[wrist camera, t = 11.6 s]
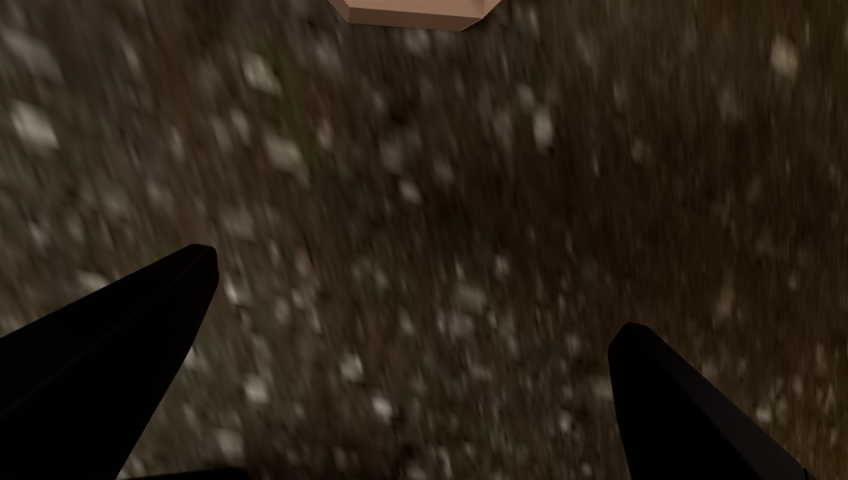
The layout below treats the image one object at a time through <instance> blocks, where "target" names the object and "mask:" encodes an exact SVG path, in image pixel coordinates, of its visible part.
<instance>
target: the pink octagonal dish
mask: <svg viewBox="0 0 848 480" xmlns="http://www.w3.org/2000/svg"><path fill="white" fill-rule="evenodd" d="M328 1H329V2H330V3H331V4H332V5H333V6H334V8H335V9H336V10H337V11H338V12H339V13H340V14H341V16H342V17H343V18H344V19H345V20H346V21H347V23H356V24H369V25H382V26H395V27H408V28H421V29H434V30H447V31H459V32H460V31H462V30H464V29H466V28H467V27H469V26H471V25H473V24H474V23H476V22H478V21H480V20H481V19H483V18H484V17H485V16H486V15H487V14H488V13H489V12H490V11H491V10H492V9H493V8H494V7H495V6H496V5H497V4H498V3H499V2H500V1H501V0H328Z"/></svg>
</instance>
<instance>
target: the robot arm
mask: <svg viewBox="0 0 848 480" xmlns="http://www.w3.org/2000/svg"><path fill="white" fill-rule="evenodd" d="M218 282H219V272H218V263H217V254H216V250H215V249H214V248H213V247H211V246H206V245H201V244H191V245H189V246H187V247H185V248H182V249H180V250H178V251H176V252H174V253H172V254H170V255H168V256H166V257H164V258H162V259H160V260H158V261H156V262H154V263H152V264H150V265H148V266H146V267H144V268H142V269H140V270H138V271H136V272H134V273H132V274H130V275H128V276H126V277H124V278H122V279H120V280H117V281H115V282H113V283H111V284H109V285H107V286H105V287H103V288H101V289H99V290H97V291H95V292H93V293H91V294H89V295H87V296H85V297H83V298H81V299H79V300H77V301H75V302H73V303H71V304H69V305H67V306H65V307H63V308H61V309H59V310H57V311H55V312H52V313H50V314H48V315H46V316H44V317H42V318H40V319H38V320H36V321H34V322H32V323H30V324H28V325H26V326H24V327H22V328H20V329H18V330H16V331H14V332H12V333H10V334H8V335H6V336H4V337H2V338H0V480H115V479H116V477H117V476H118V474H119V472H120V470H121V469H122V467H123V465H124V463H125V462H126V460H127V458H128V457H129V455H130V453H131V451H132V450H133V448H134V446H135V444H136V443H137V441H138V439H139V438H140V436H141V434H142V432H143V431H144V429H145V427H146V425H147V424H148V422H149V420H150V419H151V417H152V415H153V413H154V412H155V410H156V408H157V406H158V405H159V403H160V401H161V400H162V398H163V396H164V394H165V393H166V391H167V389H168V387H169V386H170V384H171V382H172V381H173V379H174V377H175V375H176V374H177V372H178V370H179V368H180V367H181V365H182V363H183V362H184V360H185V358H186V356H187V354H188V352H189V350H190V348H191V346H192V344H193V342H194V340H195V337H196V335H197V333H198V330H199V328H200V326H201V323H202V321H203V319H204V316H205V314H206V312H207V309H208V307H209V305H210V302H211V300H212V298H213V295H214V293H215V291H216V288H217V286H218ZM608 362H609V369H610V376H611V383H612V390H613V397H614V404H615V411H616V416H617V421H618V426H619V430H620V434H621V438H622V442H623V446H624V450H625V454H626V458H627V462H628V466H629V470H630V474H631V478H632V480H818V479H817V478H816V477H815V476H814V475H813V474H811V473H810V472H809V471H808V470H807V469H805V468H802V465H801V464H800V463H799V462H798V461H797V460H796V459H795V458H793V457H792V456H791V455H790V454H789V453H788V452H787V451H786V450H785V449H783V448H782V447H781V446H780V445H779V444H778V443H777V442H776V441H775V440H773V439H772V438H771V437H770V436H769V435H768V434H767V433H766V432H765V431H763V430H762V429H761V428H760V427H759V426H758V425H757V424H756V423H754V422H753V421H752V420H751V419H750V418H749V417H748V416H747V415H746V414H744V413H743V412H742V411H741V410H740V409H739V408H738V407H737V406H736V405H734V404H733V403H732V402H731V401H730V400H729V399H728V398H727V397H726V396H724V395H723V394H722V393H721V392H720V391H719V390H718V389H717V388H715V387H714V386H713V385H712V384H711V383H710V382H709V381H708V380H707V379H705V378H704V377H703V376H702V375H701V374H700V373H699V372H698V371H697V370H695V369H694V368H693V367H692V366H691V365H690V364H689V363H688V362H687V361H685V360H684V359H683V358H682V357H681V356H680V355H679V354H678V353H677V352H675V351H674V350H673V349H672V348H671V347H670V346H669V345H668V344H667V343H665V342H664V341H663V340H662V339H661V338H660V337H659V336H658V335H656V334H655V333H654V332H653V331H652V330H651V329H650V328H649V327H647V326H645V325H642V324H636V323H626V324H625V325H624V326H623V327H622V328H621V330H620V331H619V332H618V334H617V335H616V337H615V338H614V339H613V341H612V342H611V344H610V345H609V348H608ZM236 479H237V480H249V476H248V473H247V472H246V471H244V470H241V469H236V470H228V471H219V472H211V473H202V474H194V475H185V476H177V477H169V478H160V479H152V480H236Z"/></svg>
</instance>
